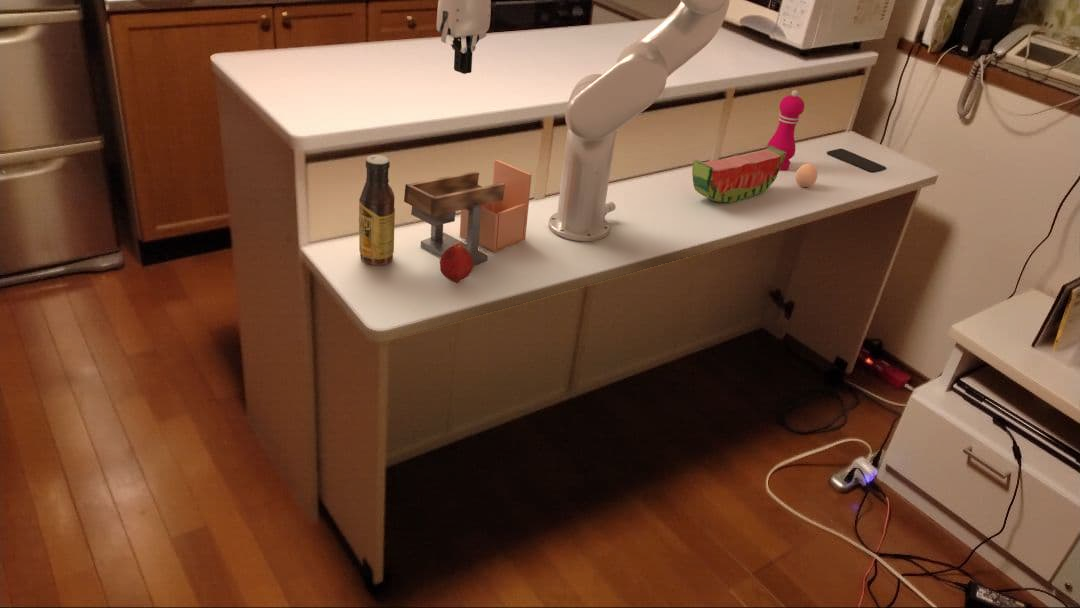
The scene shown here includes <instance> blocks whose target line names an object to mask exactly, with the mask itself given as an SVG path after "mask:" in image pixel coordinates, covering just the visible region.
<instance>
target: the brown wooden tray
mask: <svg viewBox="0 0 1080 608" xmlns="http://www.w3.org/2000/svg"><path fill="white" fill-rule="evenodd" d="M479 177H480V172H479V171H476V170H475V171H470V172H465V173H460V174H459V173H458V174H454V175H450V176H444V177H438V178H434V179H432V178H431V179H428V180H423V181H417V182H412V183H406V184H405V186H404V187H405V188H404V196H403V198H404V199H403V202H404V203H406V204H408V205H410V206H411V211H410V213H411V214H410V215H411V216H413V217H414V218H418V219H419V220H420V221H423V222H425V223H427V224H429V225H430V226H431V225H432V226H437V225H442V224H443V225H445V224H450V223H453V222H455V219H456V214H457V213H456V212H458V211H461V210H463V209H466V210H468V211H469V206H470V205H473V204H475V203H478V204H480V205H485V204H489V203H493V202H498V201H502V200H503V196H504V189H505V184H504V183H499V184H494V185H493V184H490V185H486V186H481V185H480V184H479Z"/></svg>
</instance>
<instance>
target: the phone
mask: <svg viewBox="0 0 1080 608" xmlns="http://www.w3.org/2000/svg"><path fill="white" fill-rule="evenodd" d="M826 155H827V156H830V157H833V158H835V159H838V160H840V161H841V162H845V163H847V164H849V165H850V166H852V167H855V168H859V169H861V170H863V171H865V172H868V173H878V172H881V171H885V170H886V169H887V167H886V166H884V165H883V164H881V163H877V162H876V161H873V160H870V159H868V158H866V157H864V156H861V155H859V154H856V153H854V152H851V151H850V150H847V149H844V148H835V149H832V150H828V151H827V152H826Z"/></svg>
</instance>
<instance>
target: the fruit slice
mask: <svg viewBox="0 0 1080 608" xmlns="http://www.w3.org/2000/svg"><path fill="white" fill-rule="evenodd" d="M766 147H767V148H765V149H763V150H760V151H756V152H749V153H748V154H743V155H738V154H736V155H732V156H731V157H727V158H722V159H714V160H708V161H705V162H702V161H701V160H698V159H696V160H695V159H694V160H693V163H692V173H691V175H692V183H693V188H694V190H695V191H696V192H697V193H698V194H700V195H702V196H704V197H705V198H708V199H709V200H711V201H713V202H718V203H728V204H731V203H736V202H740V201H743V200H747V199H748V198H750V197H755V196H756V195H759V194H760V193H763V192H765V191H766V190H768V189H769V187H771V186H772V185H773V184H774V182H775V181H776V179H777V177H778V174H779V172H780V171H781V170H780V168H781V166H782V164H783V161H784V158H785V155H786V152H784V151H782V150H779V149H777V148H775V147H773V146H767V145H766Z"/></svg>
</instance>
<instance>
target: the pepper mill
mask: <svg viewBox="0 0 1080 608" xmlns="http://www.w3.org/2000/svg"><path fill="white" fill-rule="evenodd" d="M799 95H800V91H798V89H794V90H792V91H791V94H790V95H786V96H785V97H783V98H782V99H781V101H780V103H779V106H778V108H779V111H780V113H779V116H778V120H779V122H778V125H777V128H776V131H775V132H774V134H773V135H772V137H771V138H770V139H769V141H768V143H767V145H766V148H767V146H773V147H775V148H777V149H779V150H782V151H784V152H786V155H785V158H784V161H783V164H782V166H781V168H780V170H779V171H787V170H789V168H790V164H791V159H792V158H793V157H794V156H795V154H796V142H795V131H796V130H795V129H796V126H797V124H799V121H800V115H802V113H804V110H805V101H804V100H803V99H802V98H801V97H799ZM766 148H765V149H766Z"/></svg>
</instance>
